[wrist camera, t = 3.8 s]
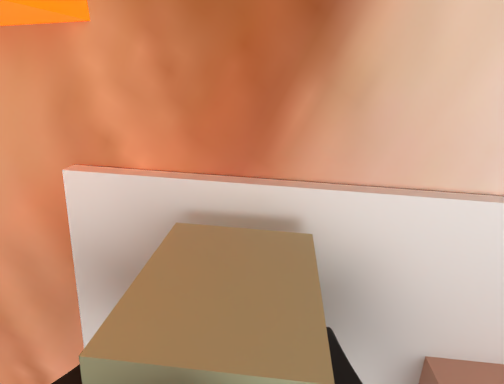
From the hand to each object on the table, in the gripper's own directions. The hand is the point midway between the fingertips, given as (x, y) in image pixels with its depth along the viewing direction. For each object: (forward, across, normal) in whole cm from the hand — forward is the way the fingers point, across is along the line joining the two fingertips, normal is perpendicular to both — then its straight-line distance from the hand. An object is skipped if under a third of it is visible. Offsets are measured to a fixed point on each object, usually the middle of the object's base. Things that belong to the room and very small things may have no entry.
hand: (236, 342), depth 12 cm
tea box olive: (+1, 0, 0) cm, 1 cm away
